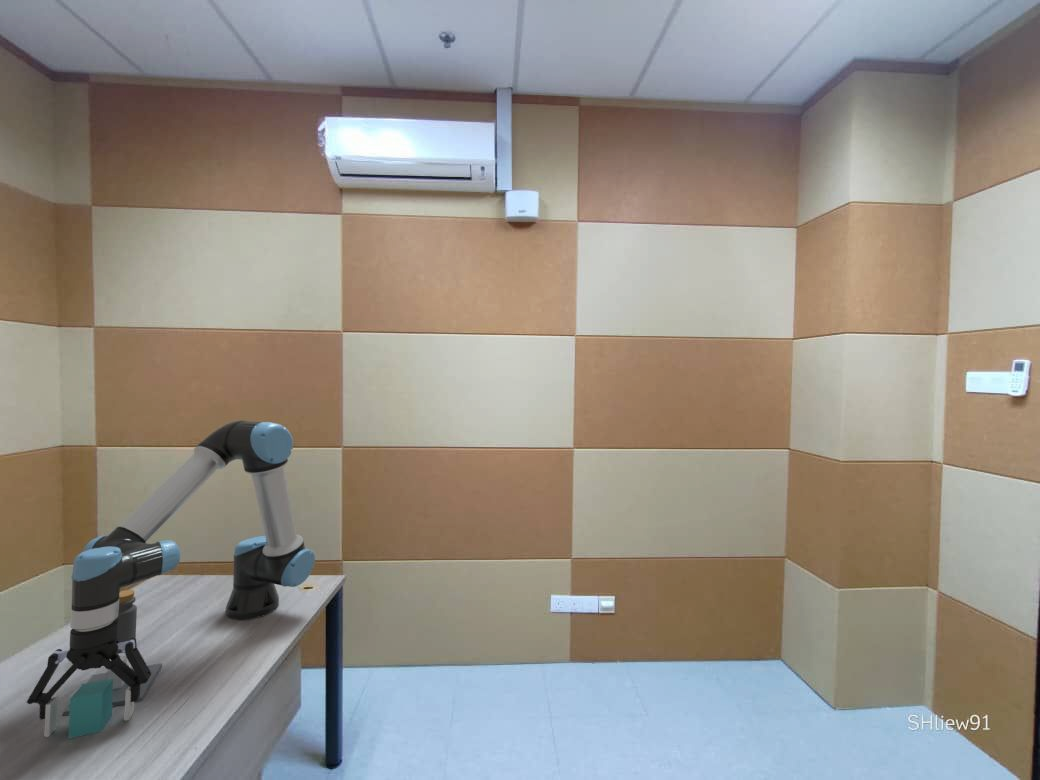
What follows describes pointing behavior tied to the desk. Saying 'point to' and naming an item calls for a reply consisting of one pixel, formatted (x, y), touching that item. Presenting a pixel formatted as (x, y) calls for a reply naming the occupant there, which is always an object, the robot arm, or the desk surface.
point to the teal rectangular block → (90, 708)
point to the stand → (123, 684)
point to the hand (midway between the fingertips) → (90, 724)
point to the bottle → (126, 616)
